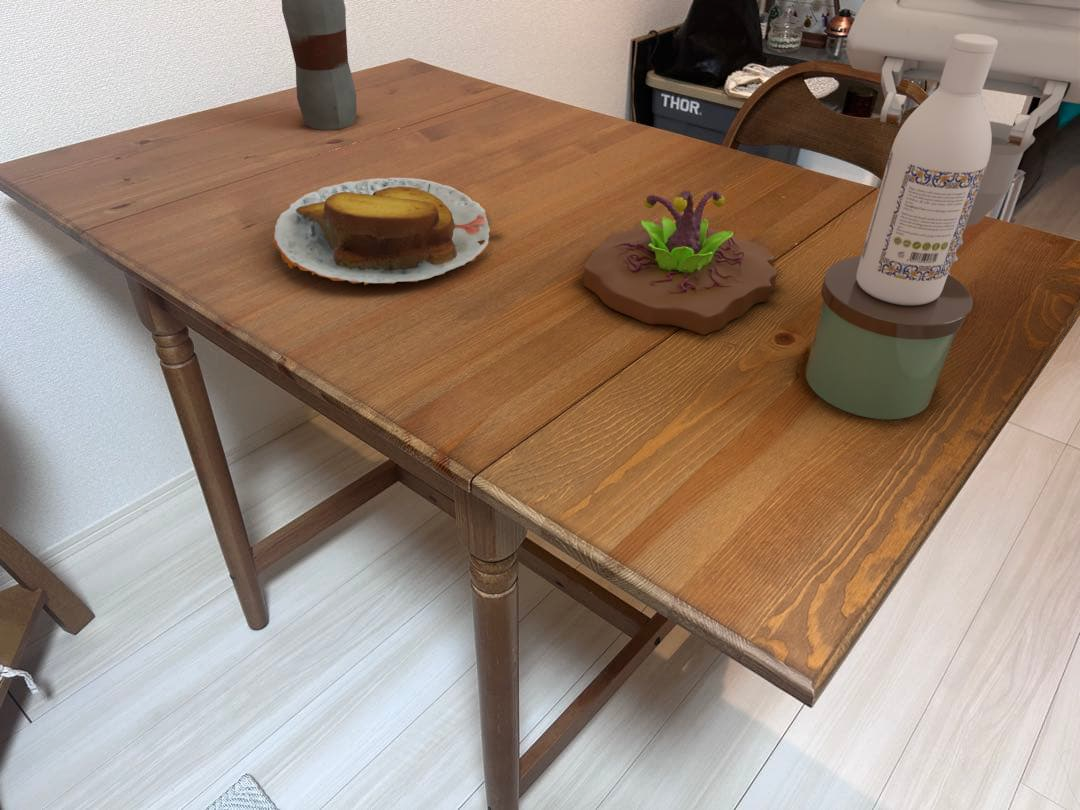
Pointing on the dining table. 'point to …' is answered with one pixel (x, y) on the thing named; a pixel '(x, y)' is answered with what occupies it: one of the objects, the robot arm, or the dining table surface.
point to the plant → (680, 269)
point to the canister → (881, 346)
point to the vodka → (321, 62)
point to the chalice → (996, 173)
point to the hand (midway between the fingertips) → (951, 131)
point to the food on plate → (382, 230)
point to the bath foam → (931, 182)
